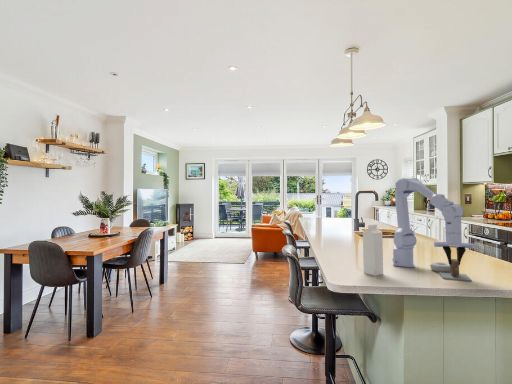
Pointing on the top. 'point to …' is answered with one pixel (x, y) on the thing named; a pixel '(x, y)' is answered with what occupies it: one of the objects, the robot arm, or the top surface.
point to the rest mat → (452, 277)
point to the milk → (373, 251)
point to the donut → (440, 267)
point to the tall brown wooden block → (454, 267)
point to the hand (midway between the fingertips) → (454, 264)
